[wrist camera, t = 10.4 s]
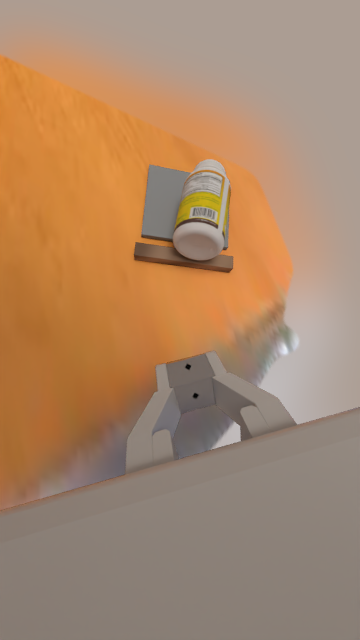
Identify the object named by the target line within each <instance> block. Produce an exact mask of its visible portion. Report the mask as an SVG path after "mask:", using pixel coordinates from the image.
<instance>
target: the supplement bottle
mask: <svg viewBox="0 0 360 640" xmlns="http://www.w3.org/2000/svg"><path fill="white" fill-rule="evenodd" d="M230 195H231V186H230V182H229V180H228V178H227V176H226V172H225V169H224V167H223V166H222V165H221V164H220V163H219V162H218V161H215V160H211V159H208V160H204V161H202V162H200V163H199V164H198V165H197V166H196V168H195V169H194V171H193V172H192V173H191V174H190V175H189V176H188V177H187V179H186V181H185V183H184V187H183V191H182V196H181V201H180V206H179V210H178V215H177V219H176V224H175V229H174V233H173V243H174V246H175V248H176V250H177V251H178V252H179V253H180V254H182V255H183V256H185V257H187V258H190V259H193V260H208V259H212V258H214V257H216V256H217V255H218V254H220V252H221V251H222V249H223V247H224V241H225V233H226V225H227V218H228V210H229V203H230Z"/></svg>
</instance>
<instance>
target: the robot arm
mask: <svg viewBox="0 0 360 640" xmlns="http://www.w3.org/2000/svg"><path fill="white" fill-rule="evenodd" d="M155 369H156V379H157V389H158V391H157V392H154V394H153V396H152V398H151V399H150V401H149V403H148V404H147V406H146V408H145V409H144V411H143V413H142V414H141V416H140V418H139V420H138V421H137V423H136V425H135V426H134V428H133V430H132V431H131V433H130V435H129V436H128V438H127V450H126V467H125V475H122V476H119V477H115V478H112V479H108V480H105V481H101V482H98V483H95V484H91V485H88V486H84V487H81V488H77V489H74V490H70V491H67V492H63V493H60V494H56V495H53V496H49V497H46V498H42V499H39V500H36V501H32V502H29V503H25V504H22V505H18V506H15V507H11V508H8V509H4V510H1V511H0V640H360V407H358V408H355V409H351V410H348V411H344V412H341V413H337V414H334V415H330V416H327V417H323V418H320V419H316V420H313V421H309V422H306V423H303V424H299V425H297V424H296V423H295V421H294V420H293V418H292V417H291V416H290V414H289V413H288V411H287V410H286V409H285V407H284V406H283V405H282V403H281V402H280V400H279V399H278V398H277V397H275V396H274V395H272V394H270V393H268V392H266V391H264V390H262V389H260V388H259V387H257V386H255V385H253V384H251V383H249V382H247V381H245V380H244V379H242V378H240V377H238V376H236V375H234V374H232V373H230V372H229V373H227V372H226V370H225V368H224V366H223V364H222V363H221V361H220V359H219V357H218V355H217V353H216V351H210V352H206V353H203V354H200V355H196V356H192V357H188V358H184V359H180V360H176V361H171V362H167V363H163V364H159V365H156V367H155ZM215 404H216V406H217V407H218V408H220V409H221V410H222V411H223V412H224V413H225V414H227V415H228V416H229V417H230V418H231V419H233V420H234V421H235V422H236V423H237V424H239V425H240V430H241V442H237V443H233V444H230V445H226V446H223V447H219V448H216V449H212V450H209V451H206V452H202V453H199V454H195V455H192V456H188V457H185V458H181V459H179V457H178V454H177V451H176V448H175V445H174V442H173V437H174V434H175V431H176V429H177V426H178V423H179V420H180V417H181V414H182V413H185V412H189V411H192V410H195V409H199V408H203V407H207V406H211V405H215Z"/></svg>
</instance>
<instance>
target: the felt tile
mask: <svg viewBox="0 0 360 640" xmlns="http://www.w3.org/2000/svg"><path fill="white" fill-rule="evenodd" d="M190 174H191V173H189V172H184V171H179V170H174V169H169V168H164V167H159V166H154V165H149V173H148V182H147V191H146V199H145V208H144V217H143V226H142V237H145V238H151V239H158V240H164V241H171V242H173V233H174V229H175V224H176V219H177V215H178V210H179V206H180V201H181V196H182V191H183V187H184V183H185V181H186V179H187V177H188V176H189V175H190ZM229 182H230V181H229ZM228 228H229V210H228V218H227V225H226V233H225V241H224V247H223V249H224V250H226V249H227V248H228Z"/></svg>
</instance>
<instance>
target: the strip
mask: <svg viewBox="0 0 360 640" xmlns="http://www.w3.org/2000/svg"><path fill="white" fill-rule="evenodd" d="M134 257H135V260H141V261H148V262H156V263H163V264H170V265H178V266H185V267H193V268H200V269H208V270H215V271H222V272H230V271H231V270H232V269H233V256H226V255H219V254H218V255H217V256H216V257H214V258H212V259H208V260H193V259H190V258H187V257H185V256H183V255H182V254H180V253H179V252H178V251H177V250H176V248H172V247H165V246H158V245H151V244H144V243H138V242H136V244H135V252H134Z"/></svg>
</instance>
